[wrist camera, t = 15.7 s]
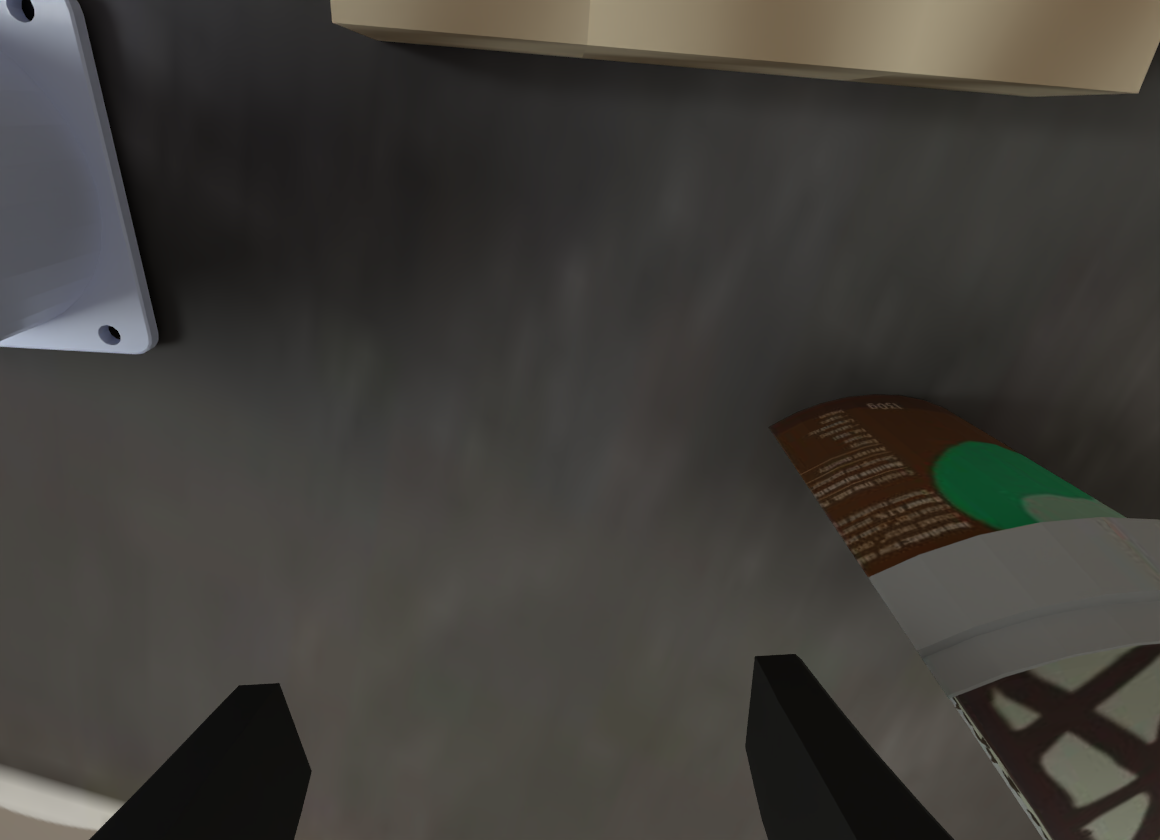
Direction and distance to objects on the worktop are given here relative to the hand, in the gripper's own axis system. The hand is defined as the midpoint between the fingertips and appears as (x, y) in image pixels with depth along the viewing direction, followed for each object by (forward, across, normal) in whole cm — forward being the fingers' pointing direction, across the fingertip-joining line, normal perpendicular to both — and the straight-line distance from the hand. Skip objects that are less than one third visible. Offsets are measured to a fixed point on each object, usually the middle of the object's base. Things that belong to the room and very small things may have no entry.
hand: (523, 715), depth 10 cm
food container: (+10, -12, +2) cm, 15 cm away
